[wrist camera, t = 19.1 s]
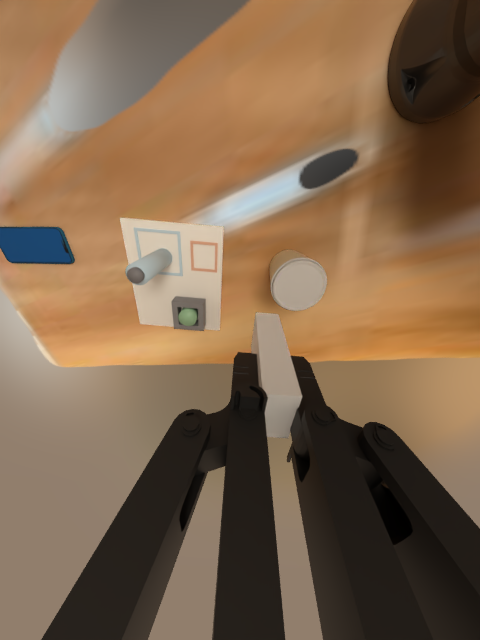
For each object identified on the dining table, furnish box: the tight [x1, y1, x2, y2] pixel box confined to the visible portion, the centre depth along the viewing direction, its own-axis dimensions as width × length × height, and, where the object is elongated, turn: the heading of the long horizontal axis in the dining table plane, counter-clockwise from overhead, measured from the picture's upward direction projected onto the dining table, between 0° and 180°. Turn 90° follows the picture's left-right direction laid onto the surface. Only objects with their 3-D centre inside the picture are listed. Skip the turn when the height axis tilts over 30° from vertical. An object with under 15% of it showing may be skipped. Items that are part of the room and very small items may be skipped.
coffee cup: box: [269, 250, 327, 311], centre depth 39 cm, size 9×9×12 cm
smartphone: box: [0, 227, 75, 264], centre depth 43 cm, size 7×1×15 cm
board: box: [120, 217, 224, 331], centre depth 44 cm, size 24×20×4 cm
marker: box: [126, 248, 172, 285], centre depth 37 cm, size 4×4×13 cm
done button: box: [178, 307, 198, 326], centre depth 47 cm, size 4×4×3 cm
